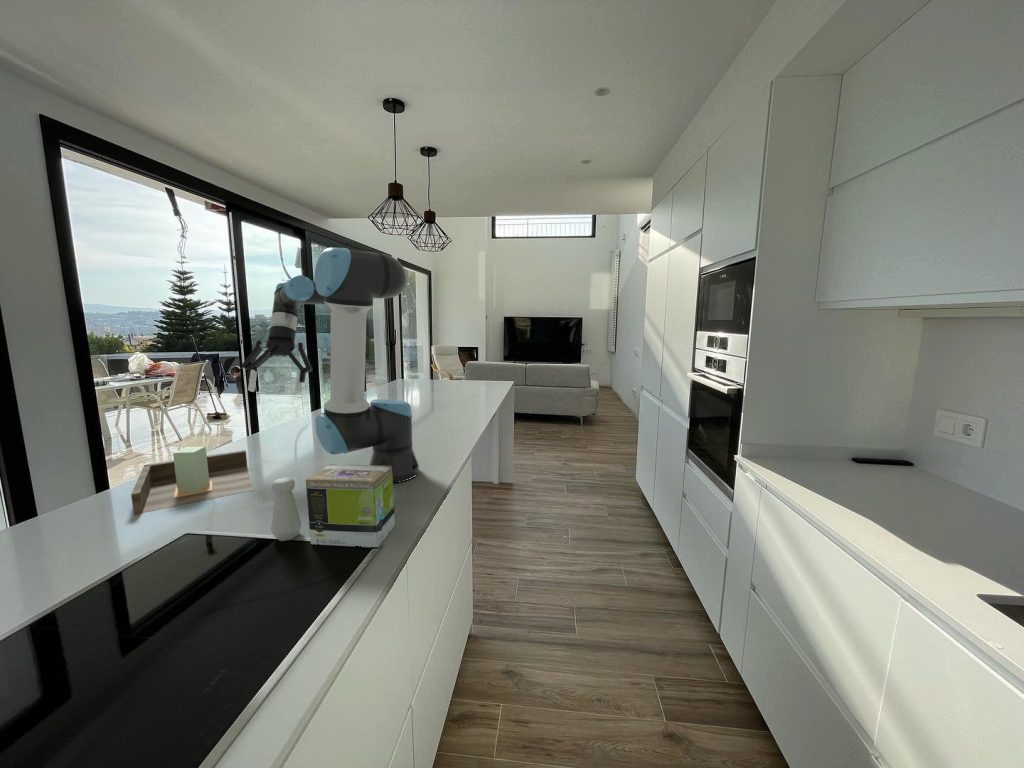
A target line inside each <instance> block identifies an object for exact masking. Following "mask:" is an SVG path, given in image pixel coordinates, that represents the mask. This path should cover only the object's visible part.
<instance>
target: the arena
mask: <svg viewBox="0 0 1024 768" xmlns="http://www.w3.org/2000/svg"><path fill="white" fill-rule="evenodd" d="M207 464H208V473H209V481H212V491H209V492H204V493H199V494H193V495H188V496H183V497H178V498H174V494H175V489H176V487H177V482H176V474H175V465H174V460H171V461H170V460H169V461H163V462H158V463H151V464H144V465H143V467H142V469H141V471H140V474H139V477H138V478H137V480H136V483H135V484H134V487H133V489H132V492H131V494H130V495H131V502H132V510H133V515H140V514H144V513H148V512H154V511H159V510H164V509H168V508H174V507H178V506H179V507H180V506H184V505H188V504H193V503H198V502H203V501H209V500H213V499H218V498H219V499H220V498H223V497H224V498H225V497H229V496H233V495H238V494H243V493H244V494H245V493H248V492H254V491H255V490H254V488H253V483H252V479H251V475H250V472H249V467H248V459H247V451H246V450H245V449H243V450H238V451H230V452H225V453H217V454H211V455H207Z"/></svg>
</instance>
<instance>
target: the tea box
mask: <svg viewBox="0 0 1024 768" xmlns="http://www.w3.org/2000/svg"><path fill="white" fill-rule="evenodd" d="M305 487H306V488H305V489H306V503H307V514H308V527H309V528H308V529H309V535H310V536H309V538H310V544H311V545H318V544H319V545H322V546H337V547H339V546H340V547H341V546H342V547H355V546H359V548H372V547H378V548H379V547H380V546H381V544H382V543H383V542H384V541H385V539H386V538H387V537H388V536H389V534H390V533H391V532H392V530H393V529H394V528H393V527H395V523H396V522H395V499H394V496H395V495H394V483H393V476H392V466H377V465H369V464H367V465H366V464H365V465H364V464H333V463H332V464H329V465H326V467H324V468H322V469H320V470H319V471H318V472H317V471H316V472H315V473H314V474H313V475H311V476H309V477H307V478H306V479H305ZM392 528H393V529H392ZM390 531H391V532H390ZM389 532H390V533H389ZM388 533H389V534H388ZM386 536H387V537H386ZM383 540H384V541H383ZM382 541H383V542H382ZM379 545H380V546H379ZM360 546H361V547H360Z"/></svg>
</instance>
